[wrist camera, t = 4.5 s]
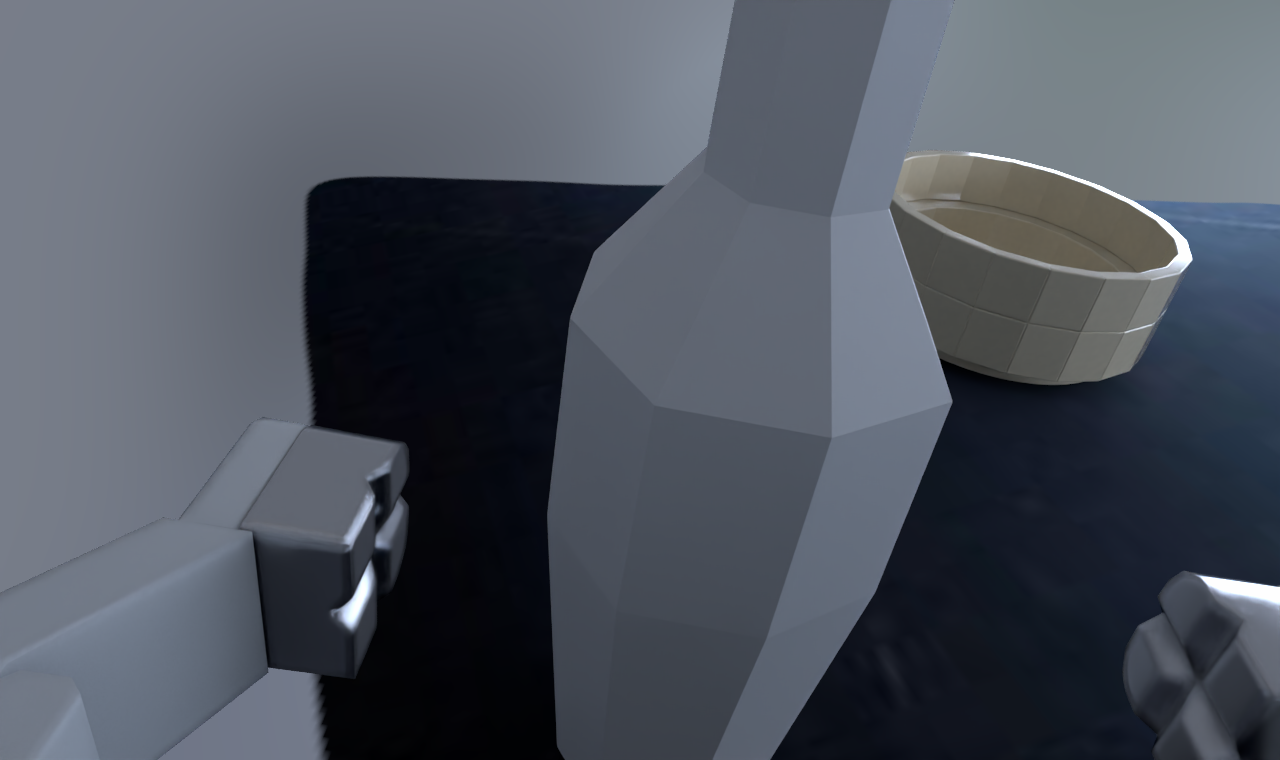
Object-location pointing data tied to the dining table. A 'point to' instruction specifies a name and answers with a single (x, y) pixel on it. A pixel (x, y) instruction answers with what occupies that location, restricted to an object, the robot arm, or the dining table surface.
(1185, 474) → the dining table surface
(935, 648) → the dining table surface
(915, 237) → the bowl
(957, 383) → the dining table surface
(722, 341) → the faceted bottle
